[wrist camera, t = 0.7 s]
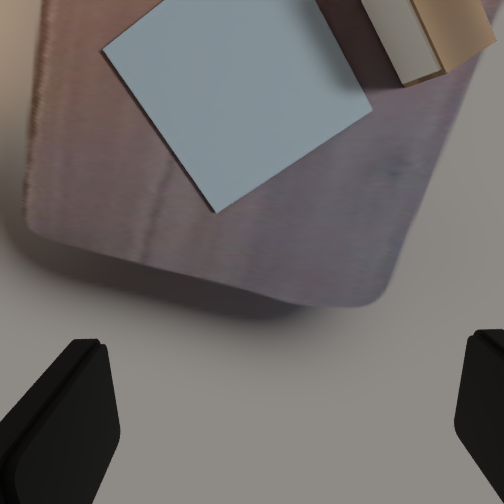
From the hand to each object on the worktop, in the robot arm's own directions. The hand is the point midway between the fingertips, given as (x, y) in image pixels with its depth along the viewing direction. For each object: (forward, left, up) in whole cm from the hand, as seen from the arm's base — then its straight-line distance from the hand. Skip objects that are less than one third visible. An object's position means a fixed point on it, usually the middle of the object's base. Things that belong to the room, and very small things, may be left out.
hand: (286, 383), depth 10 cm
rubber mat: (-4, -10, -26) cm, 28 cm away
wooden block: (-17, -6, -26) cm, 32 cm away
